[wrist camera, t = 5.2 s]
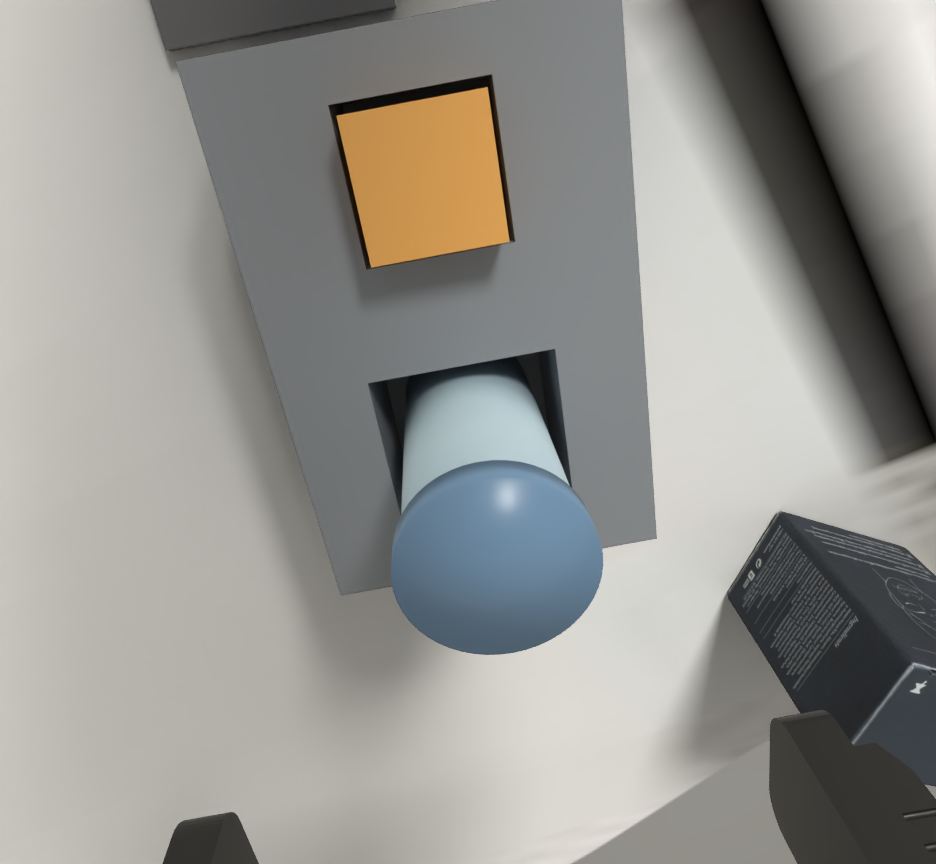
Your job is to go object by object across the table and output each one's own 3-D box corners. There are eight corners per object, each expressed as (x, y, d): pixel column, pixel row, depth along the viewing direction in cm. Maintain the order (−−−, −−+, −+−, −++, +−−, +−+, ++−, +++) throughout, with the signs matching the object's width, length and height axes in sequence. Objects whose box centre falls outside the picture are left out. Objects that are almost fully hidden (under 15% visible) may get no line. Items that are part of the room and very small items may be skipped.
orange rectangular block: (351, 112, 23) (336, 115, 18) (473, 90, 23) (487, 87, 18) (379, 237, 25) (371, 267, 20) (492, 216, 24) (509, 241, 20)
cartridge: (387, 345, 28) (369, 501, 17) (523, 319, 28) (593, 461, 17) (415, 464, 30) (414, 670, 19) (540, 441, 30) (611, 635, 19)
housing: (236, 72, 25) (175, 61, 19) (568, 8, 25) (620, -24, 19) (355, 500, 33) (341, 595, 26) (610, 454, 33) (656, 538, 26)
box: (723, 595, 37) (831, 769, 27) (777, 506, 35) (915, 661, 25) (848, 629, 38) (992, 805, 29) (908, 545, 36) (1085, 705, 27)
